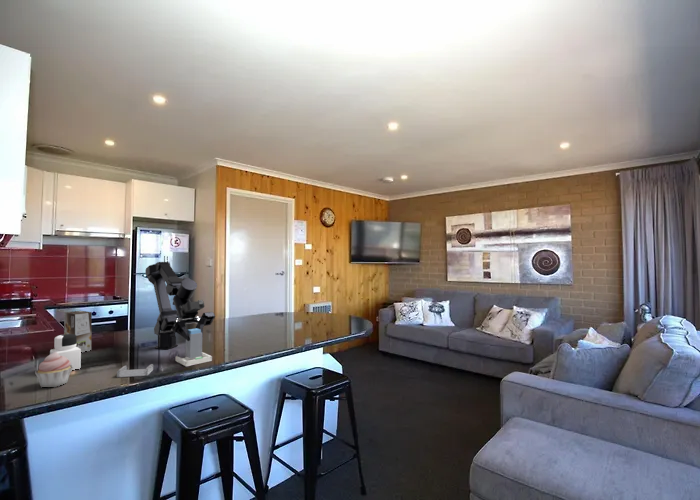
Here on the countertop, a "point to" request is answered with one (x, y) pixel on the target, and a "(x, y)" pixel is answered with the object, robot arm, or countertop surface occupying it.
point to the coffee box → (79, 328)
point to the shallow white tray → (134, 371)
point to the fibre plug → (194, 343)
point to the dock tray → (194, 360)
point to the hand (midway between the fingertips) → (195, 339)
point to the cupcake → (54, 370)
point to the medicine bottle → (68, 349)
